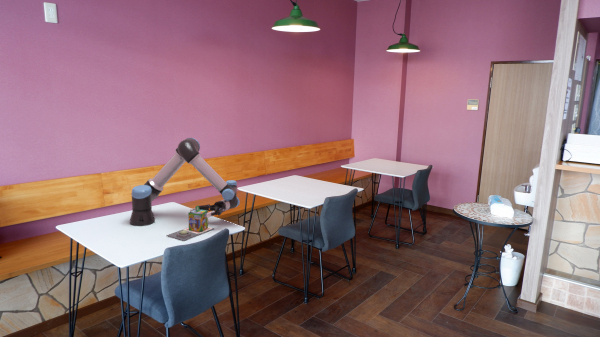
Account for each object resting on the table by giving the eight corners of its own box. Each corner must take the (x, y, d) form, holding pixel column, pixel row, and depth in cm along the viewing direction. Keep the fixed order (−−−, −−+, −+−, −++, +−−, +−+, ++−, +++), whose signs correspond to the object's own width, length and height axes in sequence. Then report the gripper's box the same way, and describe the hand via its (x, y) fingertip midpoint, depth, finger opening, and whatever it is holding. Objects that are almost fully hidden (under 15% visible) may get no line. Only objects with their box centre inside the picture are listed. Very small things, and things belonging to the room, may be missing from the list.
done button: (178, 234, 231) (178, 231, 231) (183, 232, 235) (183, 229, 234) (183, 236, 229) (183, 232, 229) (188, 234, 233) (188, 230, 232)
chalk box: (202, 232, 239) (202, 208, 237) (188, 230, 241) (187, 207, 238) (208, 227, 248) (208, 205, 246) (195, 226, 250) (194, 203, 247)
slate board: (166, 236, 232) (166, 232, 232) (197, 224, 255) (197, 221, 254) (183, 241, 225) (183, 237, 225) (214, 229, 248) (214, 225, 247)
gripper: (236, 214, 256) (213, 223, 238) (207, 208, 268) (184, 215, 250) (236, 203, 255) (214, 211, 236) (207, 197, 267) (184, 204, 248)
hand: (198, 213), depth 243 cm, fingers open, 13 cm apart
